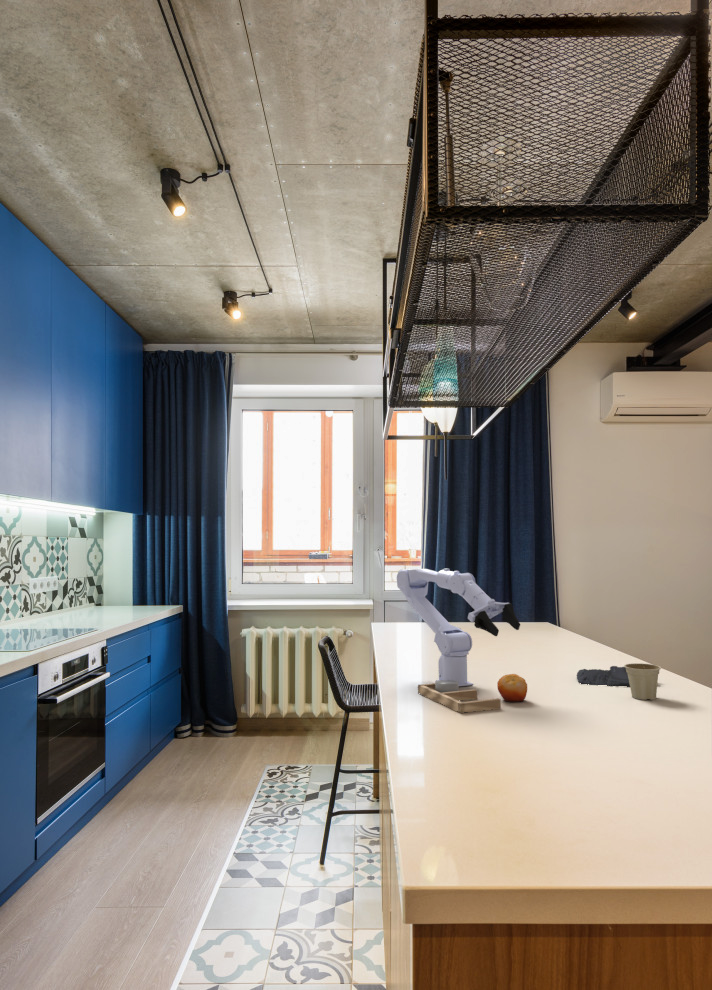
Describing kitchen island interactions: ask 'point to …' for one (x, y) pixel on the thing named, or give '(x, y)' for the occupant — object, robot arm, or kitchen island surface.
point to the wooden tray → (453, 699)
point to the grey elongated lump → (604, 677)
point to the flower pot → (643, 680)
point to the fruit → (512, 687)
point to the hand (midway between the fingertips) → (508, 630)
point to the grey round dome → (446, 686)
